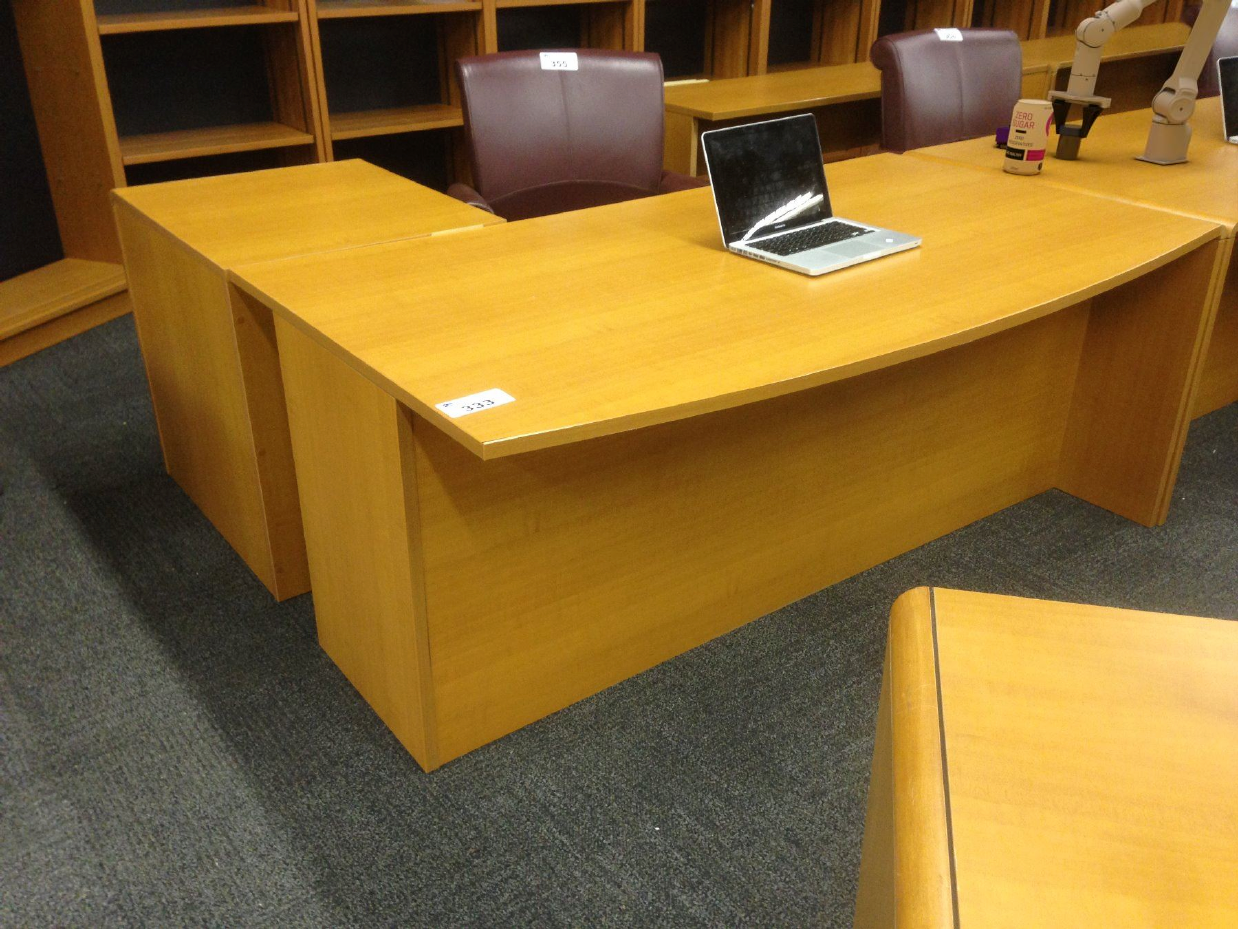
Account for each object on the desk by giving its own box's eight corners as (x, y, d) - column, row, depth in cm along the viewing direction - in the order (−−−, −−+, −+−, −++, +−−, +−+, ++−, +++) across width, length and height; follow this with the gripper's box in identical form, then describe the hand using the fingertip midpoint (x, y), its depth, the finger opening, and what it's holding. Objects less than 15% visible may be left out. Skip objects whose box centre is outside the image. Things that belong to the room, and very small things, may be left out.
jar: (1064, 154, 253) (1070, 124, 249) (1081, 158, 249) (1088, 128, 246) (1050, 156, 250) (1056, 126, 247) (1068, 160, 247) (1074, 130, 243)
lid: (1062, 135, 245) (1064, 127, 244) (1055, 130, 250) (1056, 123, 249) (1087, 136, 244) (1089, 128, 244) (1079, 131, 249) (1081, 124, 249)
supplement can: (1040, 169, 238) (1054, 99, 231) (1040, 176, 231) (1055, 105, 224) (1002, 166, 240) (1015, 97, 233) (1002, 173, 233) (1015, 102, 226)
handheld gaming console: (1047, 127, 265) (1036, 129, 253) (1042, 149, 267) (1031, 151, 255) (1009, 123, 269) (997, 125, 257) (1005, 144, 271) (992, 147, 259)
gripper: (1045, 72, 243) (1033, 132, 250) (1105, 79, 234) (1091, 142, 240) (1061, 70, 248) (1049, 129, 254) (1120, 77, 238) (1106, 139, 244)
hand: (1070, 135), depth 247 cm, fingers closed on lid, 5 cm apart
